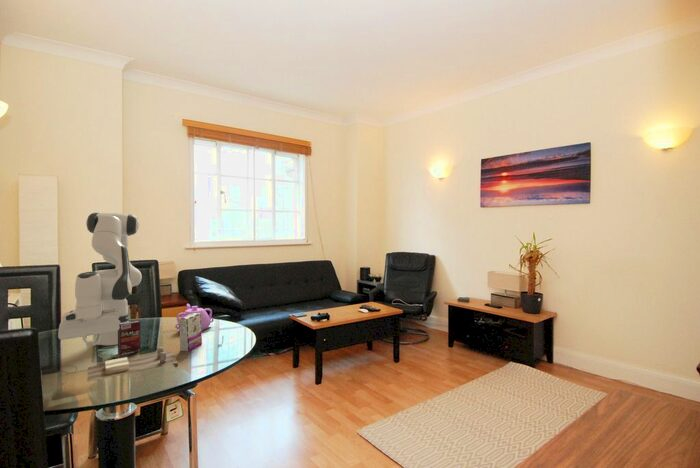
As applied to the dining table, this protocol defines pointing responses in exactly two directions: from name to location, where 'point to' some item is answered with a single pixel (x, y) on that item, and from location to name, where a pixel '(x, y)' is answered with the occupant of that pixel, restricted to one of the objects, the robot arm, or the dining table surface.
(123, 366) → the birch plate
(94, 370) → the board
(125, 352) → the supplement box
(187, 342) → the candy bar box
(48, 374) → the dining table surface
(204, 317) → the teapot
